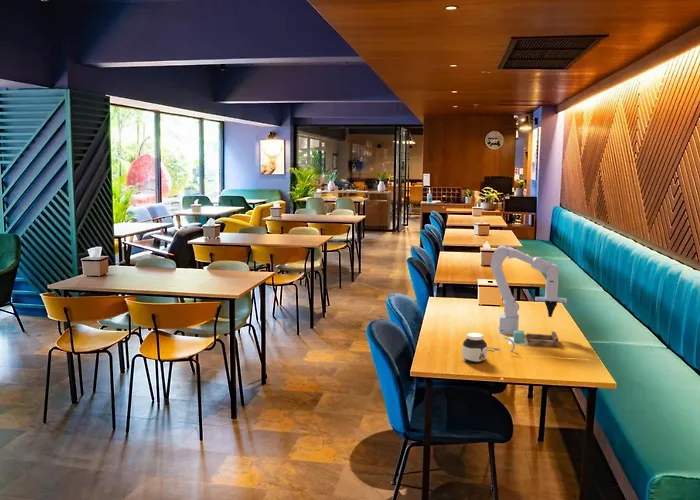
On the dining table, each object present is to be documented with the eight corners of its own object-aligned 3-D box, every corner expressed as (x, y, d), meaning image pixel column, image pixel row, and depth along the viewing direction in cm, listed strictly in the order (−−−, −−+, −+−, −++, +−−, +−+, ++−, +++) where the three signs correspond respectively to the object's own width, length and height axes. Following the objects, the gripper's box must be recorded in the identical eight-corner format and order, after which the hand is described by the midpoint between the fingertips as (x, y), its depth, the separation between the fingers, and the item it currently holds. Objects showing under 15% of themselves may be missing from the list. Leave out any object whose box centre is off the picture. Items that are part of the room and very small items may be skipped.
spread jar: (469, 365, 262) (470, 338, 260) (454, 357, 272) (455, 331, 271) (492, 361, 267) (494, 335, 265) (477, 354, 277) (478, 328, 275)
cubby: (508, 345, 290) (509, 335, 289) (507, 338, 302) (507, 328, 301) (557, 348, 286) (558, 338, 285) (554, 341, 297) (555, 331, 297)
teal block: (513, 342, 293) (514, 333, 292) (513, 339, 297) (513, 330, 297) (523, 342, 292) (524, 333, 291) (523, 340, 296) (523, 330, 296)
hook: (513, 356, 274) (469, 356, 282) (517, 350, 283) (473, 351, 291) (512, 340, 274) (467, 341, 282) (515, 334, 282) (471, 335, 290)
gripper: (536, 290, 297) (535, 317, 300) (568, 291, 295) (566, 319, 297) (535, 287, 304) (533, 314, 306) (566, 288, 302) (564, 315, 304)
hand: (550, 316), depth 302 cm, fingers closed
